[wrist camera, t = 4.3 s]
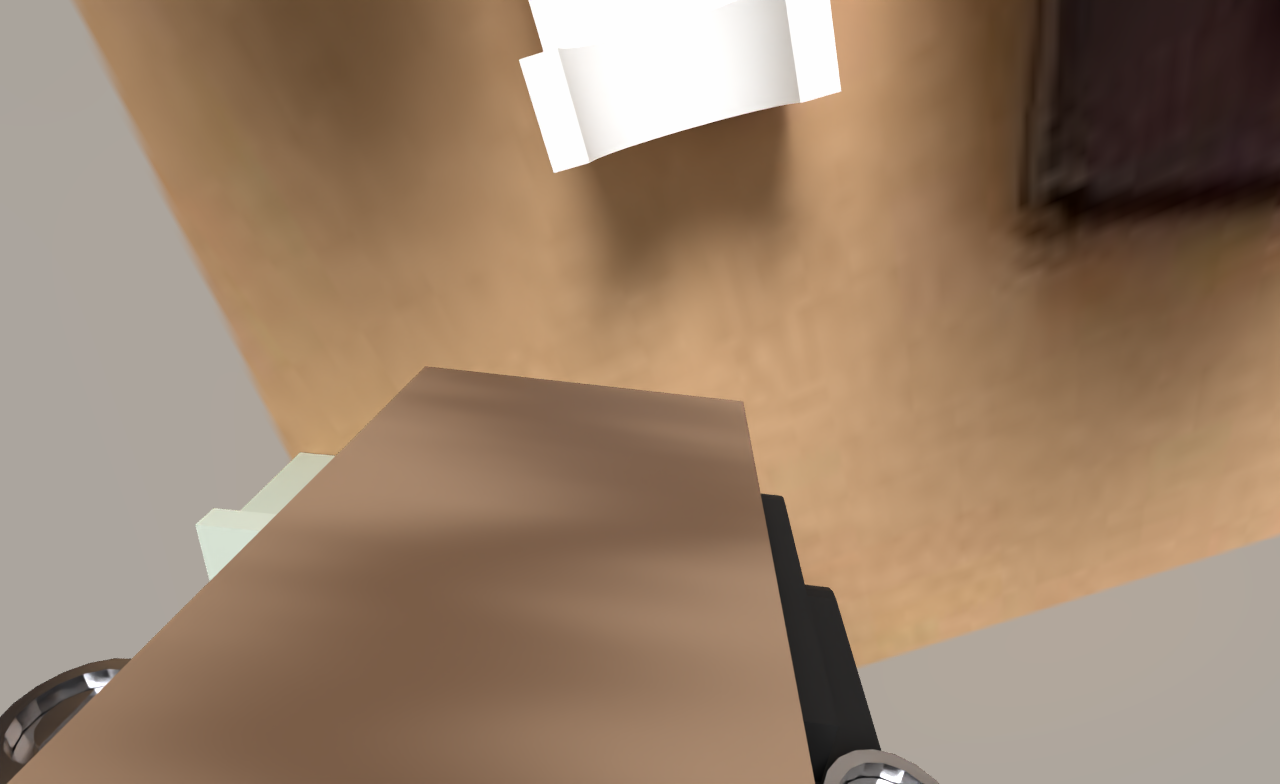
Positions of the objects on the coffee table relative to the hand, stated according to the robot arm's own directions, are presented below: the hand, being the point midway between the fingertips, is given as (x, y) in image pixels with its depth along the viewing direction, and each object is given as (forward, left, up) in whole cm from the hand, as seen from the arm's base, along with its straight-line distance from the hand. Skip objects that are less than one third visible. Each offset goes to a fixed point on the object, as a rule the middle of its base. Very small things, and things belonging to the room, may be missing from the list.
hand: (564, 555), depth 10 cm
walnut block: (0, 0, -1) cm, 1 cm away
